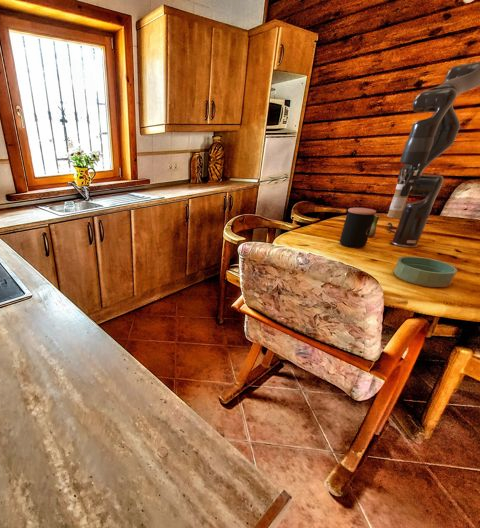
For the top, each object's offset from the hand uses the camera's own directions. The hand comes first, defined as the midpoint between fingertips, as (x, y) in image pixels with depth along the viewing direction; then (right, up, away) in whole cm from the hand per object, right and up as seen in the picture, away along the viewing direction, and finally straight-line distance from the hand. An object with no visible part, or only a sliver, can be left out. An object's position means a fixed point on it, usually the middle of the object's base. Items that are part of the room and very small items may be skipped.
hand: (401, 194), depth 113 cm
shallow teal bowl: (0, -34, -7) cm, 35 cm away
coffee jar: (+2, -19, +28) cm, 34 cm away
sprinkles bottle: (0, -9, +4) cm, 10 cm away
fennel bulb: (+19, -14, +38) cm, 44 cm away
